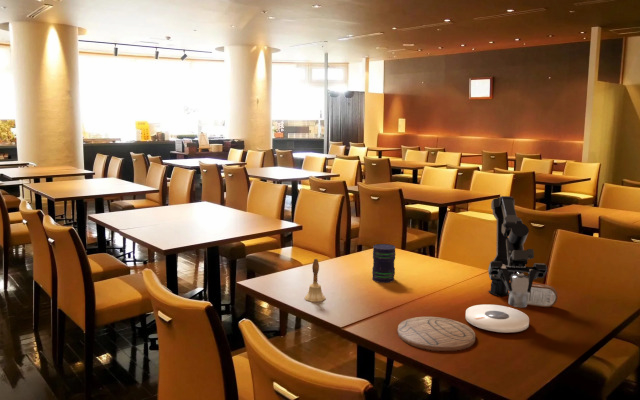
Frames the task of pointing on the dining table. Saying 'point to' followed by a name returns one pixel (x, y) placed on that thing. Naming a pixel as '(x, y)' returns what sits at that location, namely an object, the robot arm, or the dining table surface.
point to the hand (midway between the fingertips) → (519, 291)
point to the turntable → (497, 318)
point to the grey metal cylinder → (518, 290)
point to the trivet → (436, 334)
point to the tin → (542, 295)
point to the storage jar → (383, 263)
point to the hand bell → (315, 286)
